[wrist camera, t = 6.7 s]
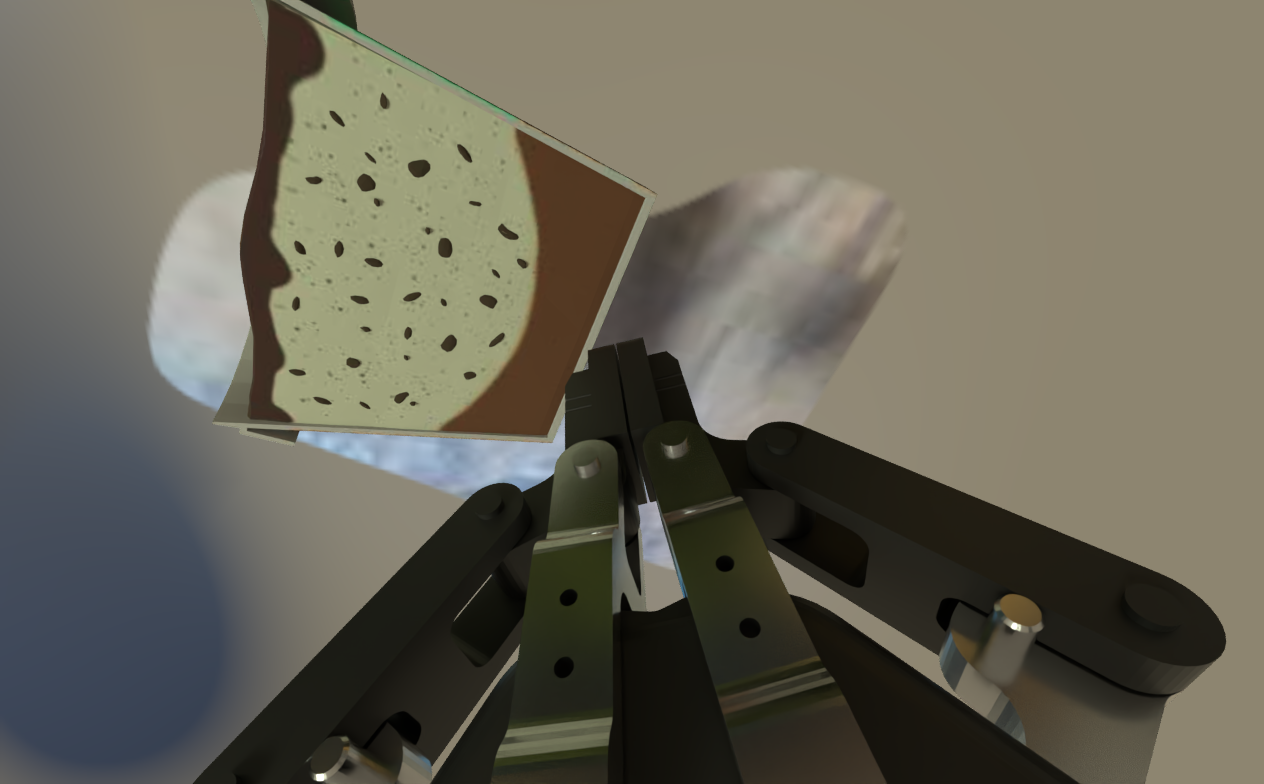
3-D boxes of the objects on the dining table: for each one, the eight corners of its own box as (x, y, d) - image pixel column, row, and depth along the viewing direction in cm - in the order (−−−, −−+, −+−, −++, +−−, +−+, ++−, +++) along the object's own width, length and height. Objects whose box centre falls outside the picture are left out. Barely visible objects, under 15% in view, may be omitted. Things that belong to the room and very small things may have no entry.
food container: (622, 103, 18) (292, -52, 14) (680, 139, 13) (209, -79, 9) (523, 379, 24) (269, 333, 20) (539, 472, 19) (211, 438, 15)
